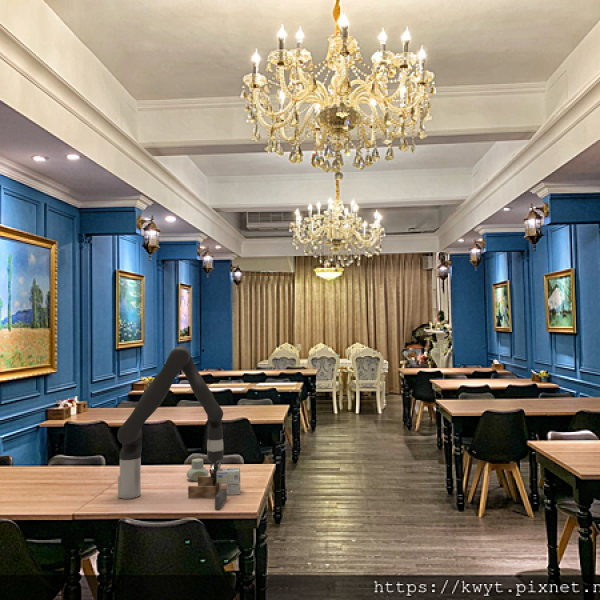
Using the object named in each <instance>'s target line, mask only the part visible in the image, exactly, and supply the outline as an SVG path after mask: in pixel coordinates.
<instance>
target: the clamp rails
mask: <svg viewBox="0 0 600 600" xmlns="http://www.w3.org/2000/svg"><path fill="white" fill-rule="evenodd" d="M219 491H220V490H219V483H216V484H215V486H213V479H211V475H208V476H198V481H197V485H189V486H187V495H188V496H187V498H188V499H215V496H216V495H217V493H218V492H219Z"/></svg>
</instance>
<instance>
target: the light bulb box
mask: <svg viewBox="0 0 600 600" xmlns="http://www.w3.org/2000/svg"><path fill="white" fill-rule="evenodd" d="M217 483H219V490H221V485H222V484H226V486H227V496H229V495H230V496H231V495H233V496H235V495H240V494H241V468H240V467H226V468H224V467H223V468H220V469H219V470H217Z"/></svg>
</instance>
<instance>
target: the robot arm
mask: <svg viewBox="0 0 600 600" xmlns="http://www.w3.org/2000/svg"><path fill="white" fill-rule="evenodd" d="M181 372H183V374H184V375H185V377H186V379H187V381H188V383H189V384H188V385H189V386H190V388H191V391H192V392H193V394H194V396H195V397H196V398H195V399H197V401H198V402H199V404H200V405H201V407H202V408H203V411H204V412H205V413H206V416H207V417H206V419H207V443H206V459H207V460H208V461H211V462H210V469H209V470H208V472H209V474H210V475H209V476H211V479H213V486H215V484H216V483H217V470H219V469H221V466H222V463H221V462H220V461H221V460H223V459H224V438H223V437H224V434H223V433H224V430H223V426H222V424H223V420H222V419H223V418H224V411H223V409H222V408H221V406H220V404H219V402H218V401H216V399H215V397H214V394H213V392H212V391H211V389H210V388H209V386H208V385H207V383H206V382H205V380H204V378H203V377H202V375H201V374H200V372H199V370H198V368H197V366H196V364H195V362H194V359H193V357H192V355H191V352H190V350H189V349H188V348H187V347H186V346H184V345H180V346H179V345H178V346H176V347H174V348H173V349H172V350H171V351H170V352H169V355H168V356H167V359H166V361H165V363H164V364H163V365H162V368H161V370H160V371H159V372H158V373H157V374H156V376H155V377H154V378H153V380H152V381H151V382H150V383H149V384H148V386H147V388H146V389H145V391H144V392H143V393H142V395H141V397H140V399H139V400H138V402H137V404H136V405H135V407H134V409H133V411H132V412H131V413H130V414H129V416H128V418H127V419H126V420H125V421H124V423H122V425H121V426H119V429H118V430H117V436H116V437H117V441H118V442H119V443H120V444H122V447H121V450H120V452H119V475H118V476H117V498H121V499H125V500H129V499H135V497H136V498H139V497H140V496H142V494H141V492H142V490H141V489H142V488H141V487H142V486H141V485H142V483H141V482H142V481H141V480H142V477H141V473H142V472H141V471H142V468H141V465H142V464H141V461H142V460H141V458H142V454H141V453H142V450H143V449H142V448H143V429H142V427H143V425H144V424H145V423H146V421H147V420H148V419H149V418H150V417H151V416H152V414H154V413H155V412H156V410H157V409H158V408H160V406H161V404H162V403H163V402H164V399H165V398H166V397H167V394H168V393H169V391H170V389H171V387H172V385H173V383H174V381H175V379H176V378H177V376H178V375H179V373H181ZM138 496H139V497H138Z"/></svg>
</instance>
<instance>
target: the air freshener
mask: <svg viewBox="0 0 600 600" xmlns="http://www.w3.org/2000/svg"><path fill="white" fill-rule="evenodd" d="M209 474H210V471H209V470H208V469H207V468H206V467H204V459H203V458H193V459H191V468H189V469H188V470H187V472H186V477H187V479H188V480H190V481H193V482H198V476H209Z"/></svg>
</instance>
